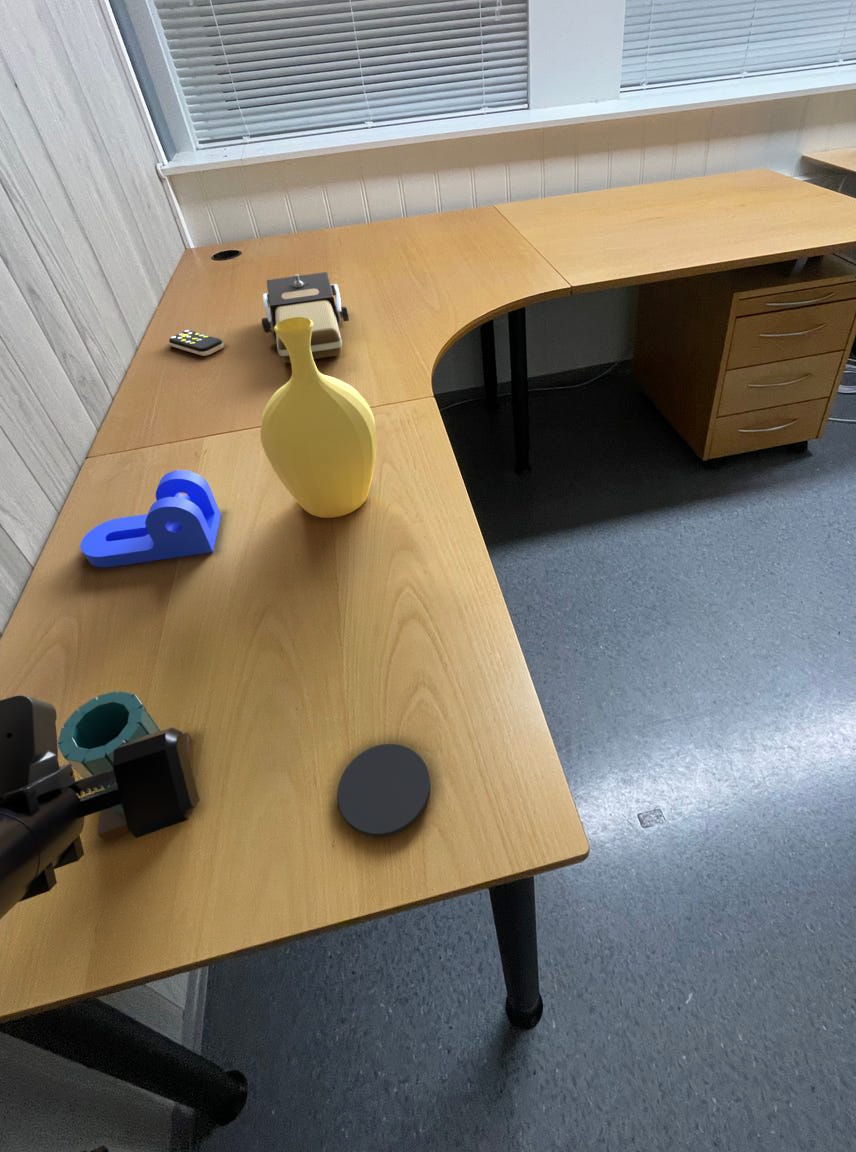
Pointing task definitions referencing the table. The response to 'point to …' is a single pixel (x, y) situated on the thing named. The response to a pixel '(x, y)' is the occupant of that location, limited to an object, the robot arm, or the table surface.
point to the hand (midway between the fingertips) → (90, 781)
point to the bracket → (159, 526)
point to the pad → (384, 790)
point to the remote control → (196, 343)
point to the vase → (318, 432)
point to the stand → (116, 822)
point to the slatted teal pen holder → (103, 733)
